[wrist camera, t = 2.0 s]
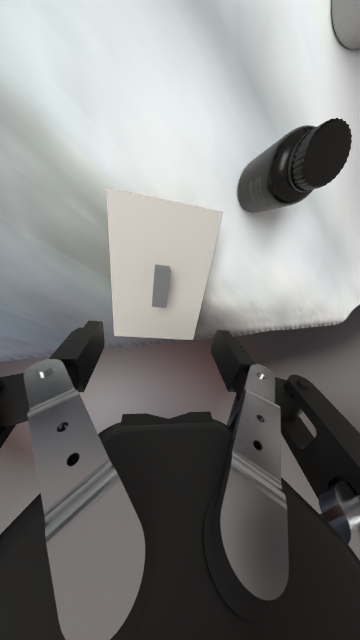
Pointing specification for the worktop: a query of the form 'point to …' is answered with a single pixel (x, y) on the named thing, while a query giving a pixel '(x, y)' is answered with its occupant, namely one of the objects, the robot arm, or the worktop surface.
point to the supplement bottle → (295, 166)
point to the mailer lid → (158, 264)
